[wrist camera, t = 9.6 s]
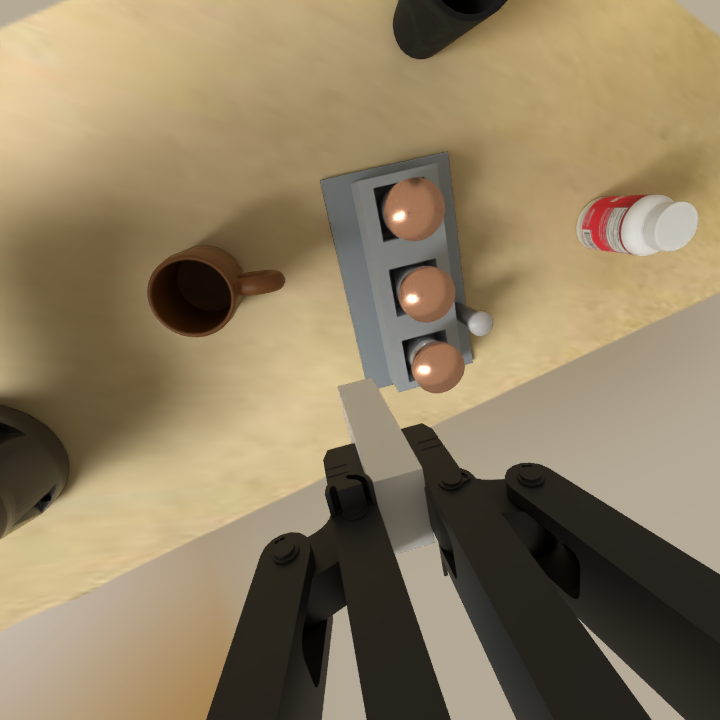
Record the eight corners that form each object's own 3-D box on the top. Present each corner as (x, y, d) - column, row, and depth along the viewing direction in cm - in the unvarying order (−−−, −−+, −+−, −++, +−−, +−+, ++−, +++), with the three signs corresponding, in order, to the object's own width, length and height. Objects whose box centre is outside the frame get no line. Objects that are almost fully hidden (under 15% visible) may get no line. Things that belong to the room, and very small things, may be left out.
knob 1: (374, 240, 45) (392, 247, 37) (364, 189, 43) (381, 184, 35) (420, 229, 46) (448, 233, 38) (412, 178, 44) (440, 171, 36)
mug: (278, 233, 44) (276, 239, 35) (291, 302, 47) (292, 323, 38) (163, 250, 43) (132, 260, 34) (184, 319, 45) (160, 345, 37)
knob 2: (399, 370, 51) (419, 398, 43) (391, 330, 49) (411, 352, 41) (439, 359, 52) (467, 385, 44) (433, 319, 50) (461, 339, 42)
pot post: (448, 322, 50) (471, 338, 44) (445, 302, 49) (468, 315, 43) (468, 317, 51) (494, 332, 44) (465, 297, 50) (492, 309, 43)
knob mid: (387, 309, 48) (407, 328, 40) (378, 264, 46) (397, 275, 38) (430, 298, 49) (458, 315, 41) (423, 252, 47) (451, 261, 39)
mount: (367, 389, 52) (375, 406, 48) (320, 180, 43) (324, 176, 38) (470, 361, 53) (488, 375, 49) (445, 152, 44) (464, 145, 40)
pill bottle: (628, 203, 50) (716, 202, 40) (607, 254, 52) (687, 265, 41) (585, 190, 48) (666, 185, 38) (566, 243, 50) (638, 251, 40)
